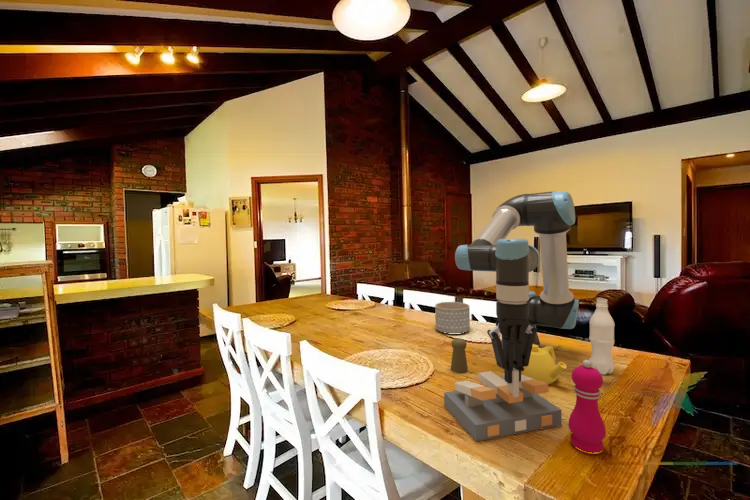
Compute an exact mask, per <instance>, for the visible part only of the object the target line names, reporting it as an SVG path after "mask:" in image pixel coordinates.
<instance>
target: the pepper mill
mask: <svg viewBox="0 0 750 500" xmlns="http://www.w3.org/2000/svg"><path fill="white" fill-rule="evenodd" d="M591 366H592V363H591V362H590V361H589V359H584V360H583V361H582V365H579V366H576V367H574V369H573V370H572V373H571V381H572V382H573V384H574V386H573V393H574V395H576V400H575V404H574V408H573V410H572V411H571V413H570V415H569V418H568V428H569V430H570V431H571V433H570V443H572V444H573V445H574V446H575V447H577V448H579V449H581V450H583V451H586V452H592V453H594V452H600V451H602V450H603V451H604V442H603V440H604V439H605V437H606V435H607V432H606V431H607V430H606V429H607V428H606V425H605V422H604V420H603V418H602V415H601V413H600V410H599V403H598V402H599V399H600V398H601V390H600V389H601V388H602V386H603V384H604V377H603V374H601V373H600V372H599V371H598V370H597V369H595V368H593V367H591ZM572 444H571V445H572Z"/></svg>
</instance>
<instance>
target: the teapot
mask: <svg viewBox="0 0 750 500" xmlns="http://www.w3.org/2000/svg"><path fill="white" fill-rule="evenodd" d="M556 360H557V358H556V352H555V349H554V346H551V345H546V346H544V347H541V348H539V346H538V345H535V344H533V345H532V350H531V355H530V360H529V365H528V366H524V367H523V368H524V371H521V375H524V376H527V377H530V378H532V379H535V380H538V381H541V382H544V383H547V384H548V386H549V385H551V384H553V383H554V382H556V381H557V379H558V378H559V375H560V374H561V373H562V372H564V371H565V370H566V369H567V368H568V366H567V365H566V363H565V362H563V361H559V362H558V363H556Z"/></svg>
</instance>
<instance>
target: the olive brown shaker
mask: <svg viewBox="0 0 750 500" xmlns="http://www.w3.org/2000/svg"><path fill="white" fill-rule="evenodd" d="M450 345H451V348H452V355H451V362H450V371H451V372H453V373H456V374H466V373H468V371H469V369H468V367H469V366H468V361H467V354H466V348H467V341H466V340H465V339H463V338H453V339H452V341H451V344H450Z"/></svg>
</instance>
